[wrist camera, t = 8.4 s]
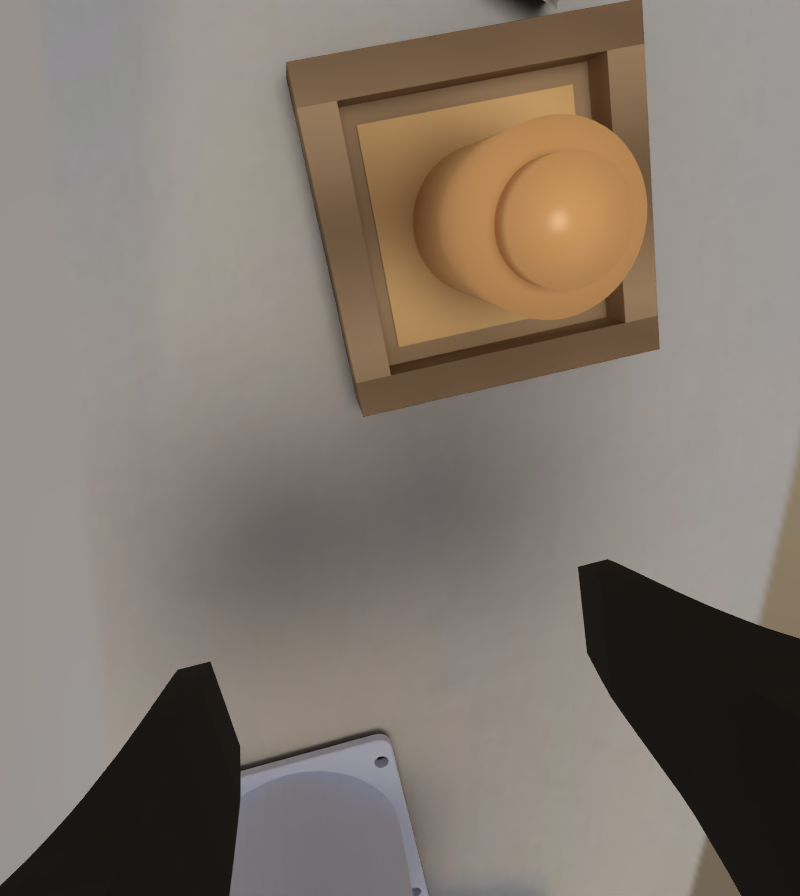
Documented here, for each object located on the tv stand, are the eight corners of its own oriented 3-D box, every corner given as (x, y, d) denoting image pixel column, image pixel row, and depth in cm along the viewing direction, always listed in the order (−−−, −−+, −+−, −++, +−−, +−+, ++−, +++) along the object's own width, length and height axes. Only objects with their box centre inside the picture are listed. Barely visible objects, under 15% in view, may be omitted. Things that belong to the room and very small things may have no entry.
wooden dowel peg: (557, 278, 20) (672, 302, 14) (426, 307, 19) (486, 344, 13) (542, 131, 18) (662, 88, 12) (400, 159, 18) (455, 129, 12)
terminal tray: (630, 338, 21) (659, 348, 20) (357, 400, 21) (363, 417, 19) (609, 18, 18) (641, -2, 17) (286, 77, 17) (286, 62, 16)
